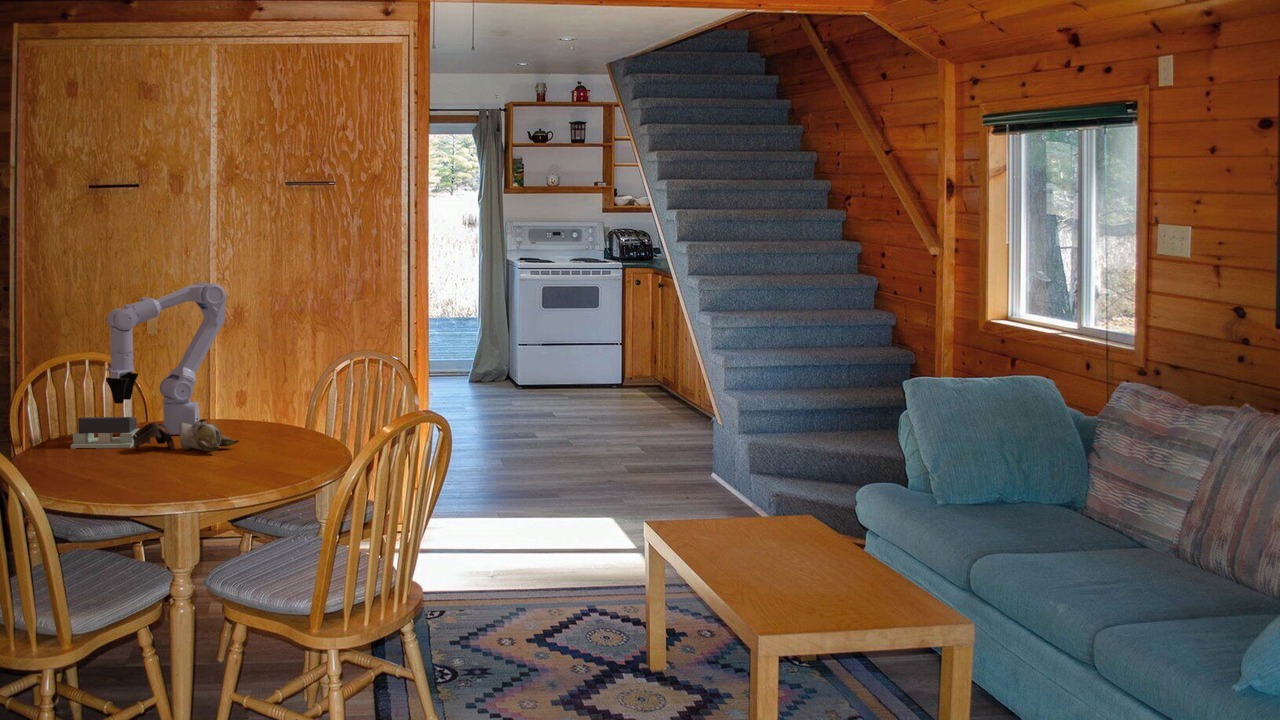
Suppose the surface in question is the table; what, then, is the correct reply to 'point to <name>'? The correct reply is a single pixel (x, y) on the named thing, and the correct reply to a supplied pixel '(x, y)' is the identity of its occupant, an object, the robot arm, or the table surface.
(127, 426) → the dark gray rectangular block
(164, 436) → the dark brown legged piece
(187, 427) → the ceramic sculpture
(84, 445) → the stand
